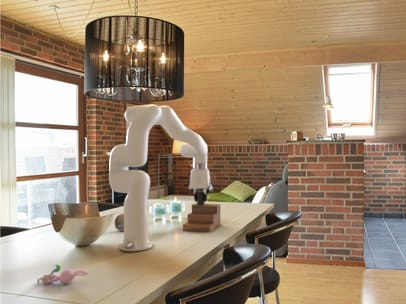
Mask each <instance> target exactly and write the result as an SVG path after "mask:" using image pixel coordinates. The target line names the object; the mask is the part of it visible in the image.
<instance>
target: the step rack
mask: <svg viewBox="0 0 406 304" xmlns="http://www.w3.org/2000/svg"><path fill="white" fill-rule="evenodd" d="M186 217H187V218H186V221H187V222H185V223H183V224H182V231H185V232H199V233H200V232H202V233H210V232H212V231H213V230H215V229H217V228H218V227H220V226H221V224H222V223H221V204H220V203H205V204H204V205H197V202H196V203H193V204H191V212H189V213H187V216H186Z"/></svg>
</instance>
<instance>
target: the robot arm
mask: <svg viewBox="0 0 406 304" xmlns="http://www.w3.org/2000/svg"><path fill="white" fill-rule="evenodd" d="M124 119H125V121H126V123H128V125H129V126H128V128H127V131H126V142H125V143H120V144H119V143H118V144H117V145H115V146H114V147H113V148H112V150H111V152H110V156H109V167H108V168H109V170H108V171H109V173H108V182H109V186H110V189H111V190H112V191H114V192H116V193H122V194H127V195H126V196H125V198H124V202H123V214H124V231H123V237H124V238H122V239H123V240H122V242H121V243H118V244H117V247H118V249H120V250H121V251H124V252H141V251H145V250H149V249H151V248H152V247H153V242H151V241H149V193H150V187H151V177H150V175H149V173H147V172H146V171H144V170H139V169H130V168H138V167H143V166H144V165H146V163H147V161H148V151H149V149H148V148H149V135H150V132H151V129H152V128H153V127H154V126H155V125H156V126H157V125H158V126H159V125H160V126H161V127H162V128H163V129H164V131H165V133H167V134H168V136H169V137H170V138H171V139H172V140H175V141H178V142H181V143H183V144H181V146H180V148H179V154H180V155H181V156H182V157H183V158H189V159H192V164H190V167H191V168H192V169H191V170H190V178H189V185H188V186H187V189H189V190H190V191H191V193H192V194H193V197H194V198H193V199H194V202H196V203H197V191H199V189H202V191H204V194H203V202H205V203H206V202H207V201H208V194H209V193H210V192H211V191H212V190H213V189H214V186H213V185H212V182H211V175H210V170H209V169H208V151H209V150H208V144H207V143H206V142H205V140H204V139H203V137H202V136H201V135H200V134H198V133H197V132H195V131H194V130H192V129H190V128H189V127H186V125H184V123H183V122H182V120H181V119H180V118H179V117H178V115H177V113H176V112H175V111H174V110H173V108H172V107H170V106H169V105H157V104H152V103H151V104H142V105H132V106H129V107H128V108H126V110H125V112H124ZM129 167H130V168H129Z"/></svg>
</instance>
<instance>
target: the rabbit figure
mask: <svg viewBox="0 0 406 304" xmlns="http://www.w3.org/2000/svg"><path fill="white" fill-rule="evenodd" d="M54 266H55V267H56V268H54V269H52V271H51V272H50V273H49V274H45V275H42V277H39V278H38V277H37V278H36V279H37V285H40V281H41V283H42V284H44V285H48V284H51V283H56V282H59V283H60V284H63V285H65V284H68V283H70V282H72V281H73V280H74V279H75V278H76V276H83V277H86V276H87V275H89V272H88V271H87V270H85V269H78V270H73V269H65V270H63V271H62V272H61V273H59V272H60V271H61V269H62V266H61V265H60V264H55V265H54ZM55 273H59V275H56V274H55Z"/></svg>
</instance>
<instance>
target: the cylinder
mask: <svg viewBox="0 0 406 304" xmlns="http://www.w3.org/2000/svg"><path fill="white" fill-rule="evenodd" d="M203 194H204V190H198V191H197V202H196V203H197V205H204V204H206V202H203Z"/></svg>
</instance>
